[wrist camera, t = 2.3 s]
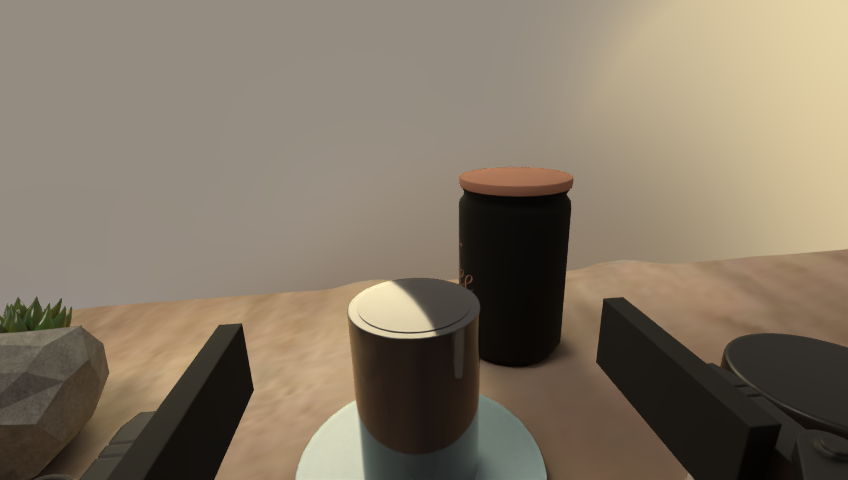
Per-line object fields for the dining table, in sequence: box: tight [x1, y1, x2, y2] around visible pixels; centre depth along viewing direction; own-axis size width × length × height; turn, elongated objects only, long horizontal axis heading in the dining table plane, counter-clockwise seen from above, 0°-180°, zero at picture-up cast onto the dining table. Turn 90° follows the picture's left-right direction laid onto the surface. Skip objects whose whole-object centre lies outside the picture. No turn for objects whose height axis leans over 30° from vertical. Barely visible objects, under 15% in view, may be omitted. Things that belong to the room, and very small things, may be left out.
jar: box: [686, 333, 848, 480], centre depth 22 cm, size 9×8×12 cm
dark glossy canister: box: [347, 278, 480, 480], centre depth 27 cm, size 8×8×12 cm
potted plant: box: [0, 297, 109, 480], centre depth 32 cm, size 12×13×15 cm
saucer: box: [295, 393, 547, 480], centre depth 30 cm, size 17×17×1 cm
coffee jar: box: [459, 167, 573, 366], centre depth 43 cm, size 11×11×18 cm
